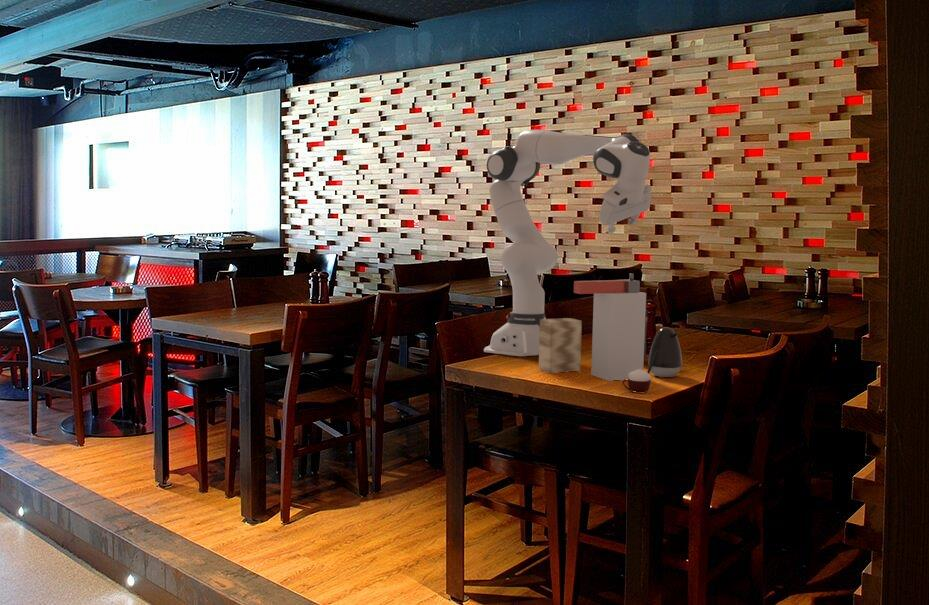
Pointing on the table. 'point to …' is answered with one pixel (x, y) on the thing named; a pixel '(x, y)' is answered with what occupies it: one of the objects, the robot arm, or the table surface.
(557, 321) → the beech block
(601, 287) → the pin spanner
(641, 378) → the cocoa
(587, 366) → the table surface
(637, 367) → the tall grey pillar block
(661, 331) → the grey rounded upright piece
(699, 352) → the table surface
